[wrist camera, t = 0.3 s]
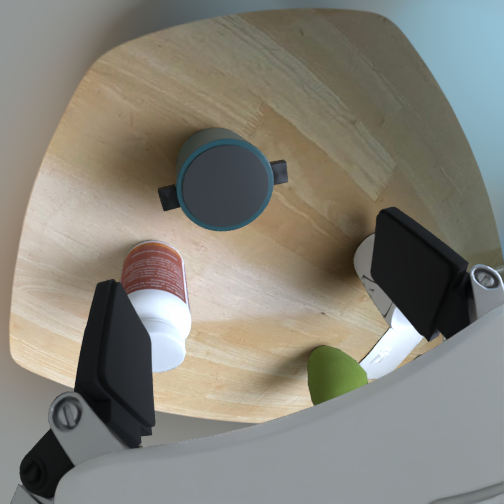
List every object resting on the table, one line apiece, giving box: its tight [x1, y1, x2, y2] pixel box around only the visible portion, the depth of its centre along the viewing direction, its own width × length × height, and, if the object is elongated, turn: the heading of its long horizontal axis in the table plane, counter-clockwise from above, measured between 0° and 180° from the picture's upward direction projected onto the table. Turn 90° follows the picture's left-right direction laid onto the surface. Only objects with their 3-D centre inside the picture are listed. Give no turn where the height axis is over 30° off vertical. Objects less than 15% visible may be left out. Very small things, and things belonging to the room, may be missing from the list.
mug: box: [354, 234, 413, 332], centre depth 29 cm, size 11×8×10 cm
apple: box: [307, 346, 368, 406], centre depth 37 cm, size 9×8×12 cm
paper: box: [359, 327, 424, 380], centre depth 49 cm, size 25×17×1 cm
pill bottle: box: [120, 241, 191, 372], centre depth 22 cm, size 6×6×11 cm
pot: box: [158, 128, 288, 231], centre depth 21 cm, size 7×9×6 cm
